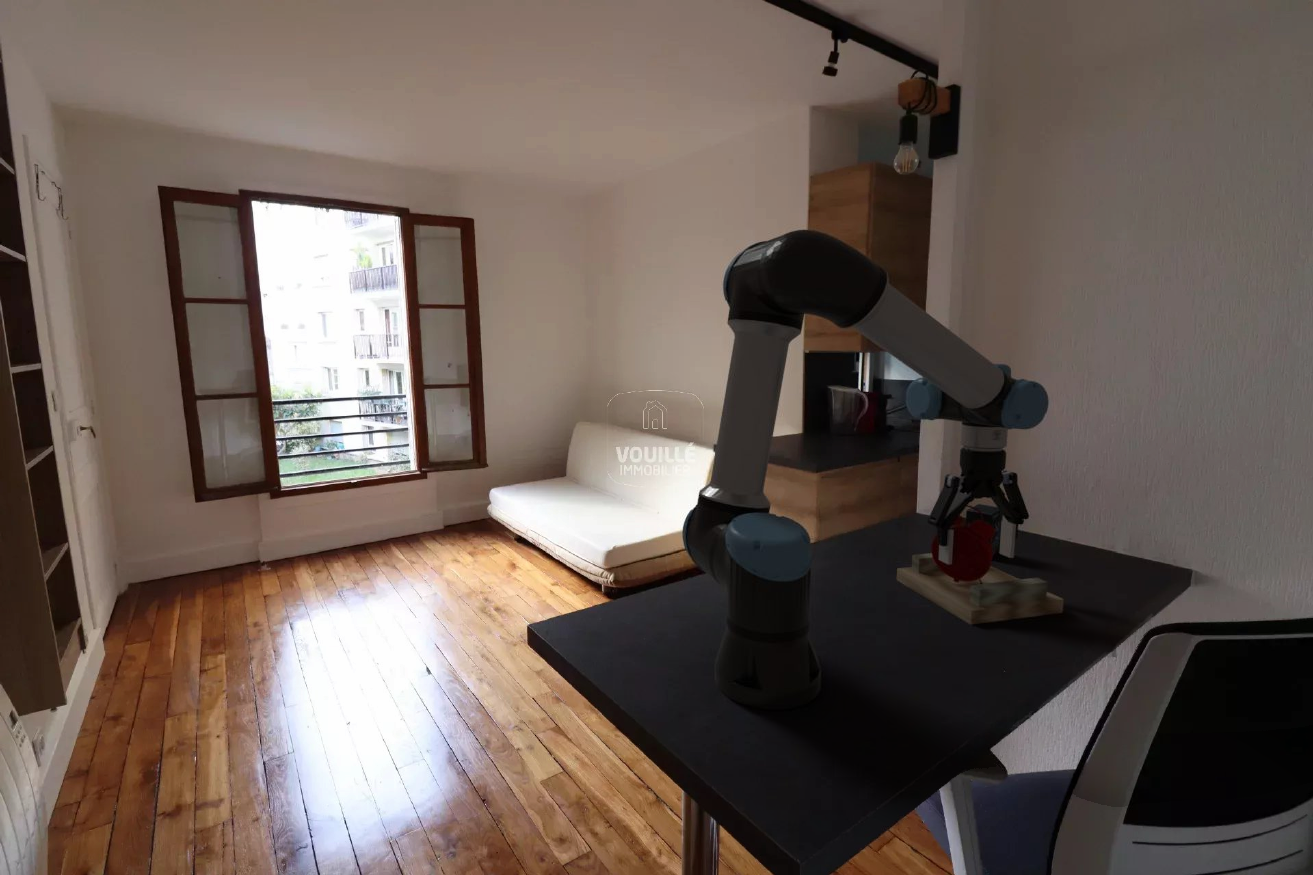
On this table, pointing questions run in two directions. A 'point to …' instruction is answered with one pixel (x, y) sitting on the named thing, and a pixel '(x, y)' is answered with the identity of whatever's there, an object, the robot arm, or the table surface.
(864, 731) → the table surface
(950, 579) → the display stand
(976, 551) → the alarm clock
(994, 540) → the box
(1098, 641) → the table surface
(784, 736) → the table surface
